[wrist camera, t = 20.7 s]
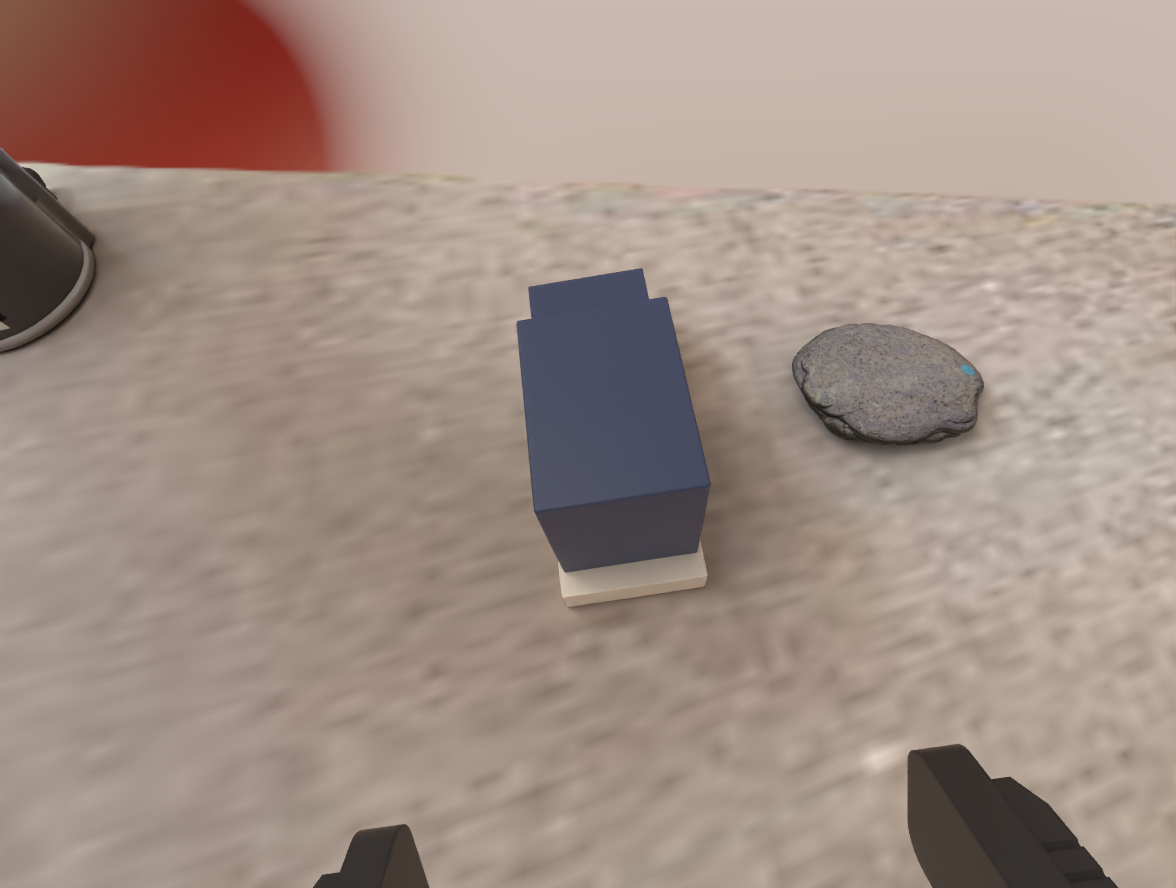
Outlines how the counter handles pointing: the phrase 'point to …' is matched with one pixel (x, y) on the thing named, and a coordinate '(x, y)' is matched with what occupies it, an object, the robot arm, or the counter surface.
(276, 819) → the counter surface
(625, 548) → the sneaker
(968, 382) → the stone
